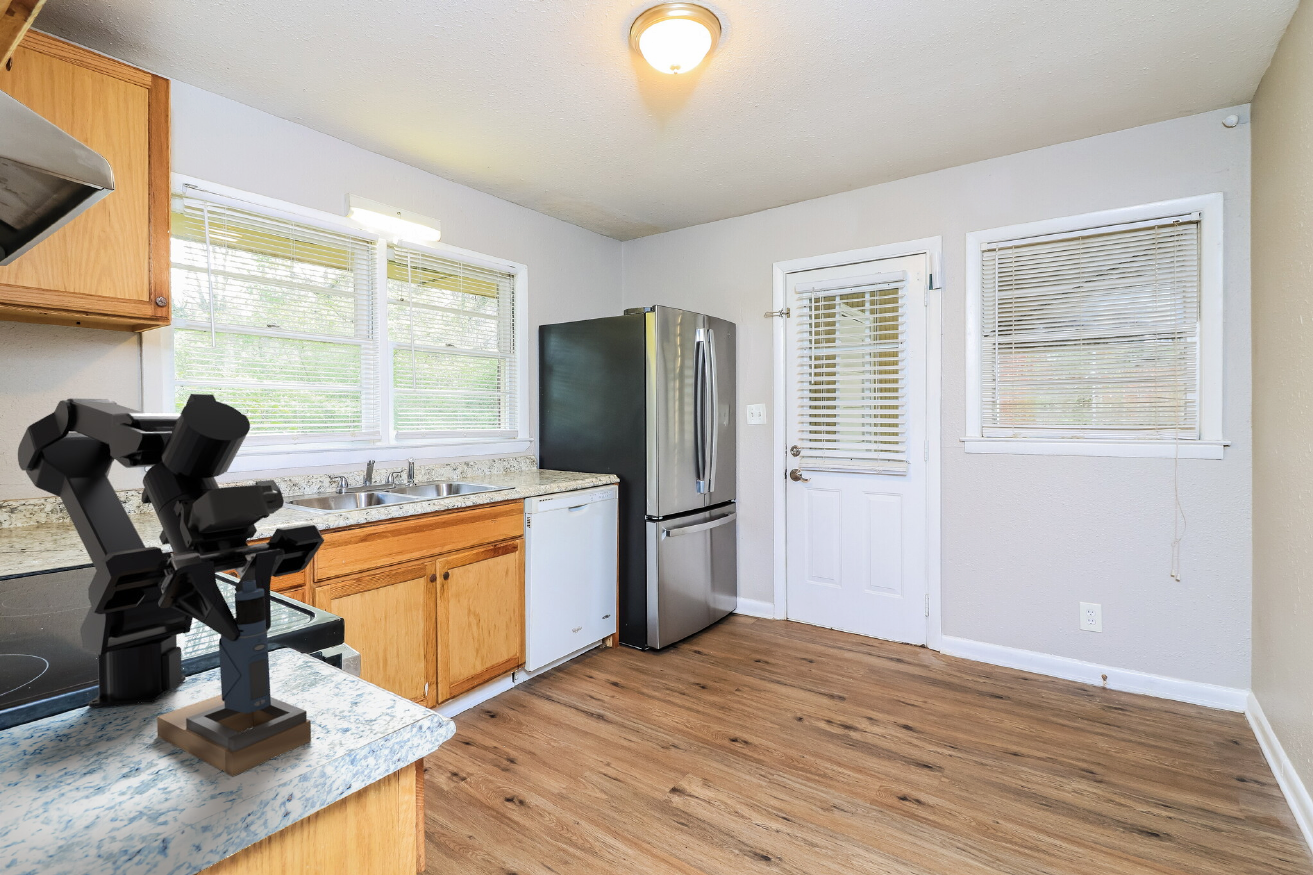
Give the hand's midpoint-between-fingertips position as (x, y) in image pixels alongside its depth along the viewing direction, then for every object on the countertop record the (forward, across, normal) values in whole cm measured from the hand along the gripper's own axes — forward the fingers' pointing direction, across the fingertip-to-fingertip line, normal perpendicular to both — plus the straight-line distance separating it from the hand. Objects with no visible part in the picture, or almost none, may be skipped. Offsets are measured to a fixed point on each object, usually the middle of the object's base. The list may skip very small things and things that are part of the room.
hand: (252, 634), depth 59 cm
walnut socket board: (+5, 0, +10) cm, 12 cm away
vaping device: (+5, 0, +6) cm, 7 cm away
